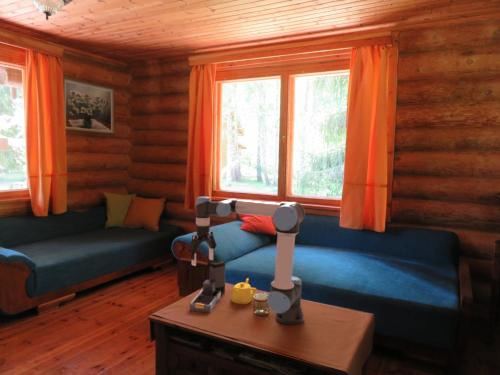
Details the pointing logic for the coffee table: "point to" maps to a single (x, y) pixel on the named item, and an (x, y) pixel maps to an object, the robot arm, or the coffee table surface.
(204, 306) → the rack
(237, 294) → the teapot
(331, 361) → the coffee table surface
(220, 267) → the electronic device
